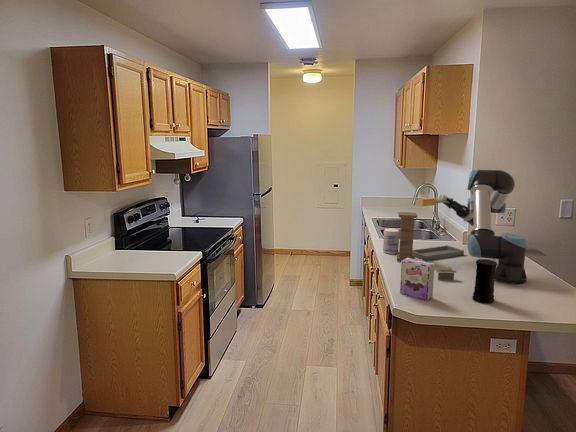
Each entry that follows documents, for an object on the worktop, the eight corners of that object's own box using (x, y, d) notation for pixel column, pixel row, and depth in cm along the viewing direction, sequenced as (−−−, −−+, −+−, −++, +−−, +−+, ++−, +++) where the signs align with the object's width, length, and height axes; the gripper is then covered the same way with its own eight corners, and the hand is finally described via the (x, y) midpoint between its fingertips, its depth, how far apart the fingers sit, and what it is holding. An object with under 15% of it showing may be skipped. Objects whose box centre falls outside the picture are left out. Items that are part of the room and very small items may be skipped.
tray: (425, 261, 246) (425, 256, 246) (409, 255, 259) (410, 250, 258) (463, 255, 258) (464, 250, 257) (446, 249, 270) (447, 245, 270)
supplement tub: (387, 255, 259) (388, 232, 256) (380, 251, 268) (381, 228, 265) (401, 253, 262) (402, 231, 259) (393, 249, 271) (394, 227, 268)
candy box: (399, 293, 196) (401, 259, 193) (405, 290, 200) (407, 257, 197) (426, 301, 186) (429, 266, 183) (433, 297, 190) (435, 263, 187)
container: (487, 296, 192) (491, 258, 188) (498, 303, 183) (501, 264, 179) (468, 296, 191) (471, 258, 188) (478, 304, 183) (481, 264, 179)
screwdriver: (422, 206, 245) (423, 199, 244) (418, 205, 248) (418, 198, 248) (453, 203, 254) (454, 197, 254) (448, 202, 258) (449, 196, 257)
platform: (424, 275, 221) (425, 264, 220) (459, 276, 220) (459, 264, 219) (430, 283, 210) (431, 271, 208) (467, 284, 208) (468, 271, 207)
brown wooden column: (414, 262, 243) (417, 215, 238) (397, 261, 245) (399, 215, 240) (413, 257, 253) (415, 212, 248) (396, 257, 255) (398, 212, 250)
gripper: (471, 220, 255) (447, 203, 245) (452, 216, 269) (429, 200, 259) (477, 209, 255) (453, 192, 245) (457, 205, 269) (434, 189, 259)
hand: (440, 196), depth 252 cm, fingers closed on screwdriver, 2 cm apart
